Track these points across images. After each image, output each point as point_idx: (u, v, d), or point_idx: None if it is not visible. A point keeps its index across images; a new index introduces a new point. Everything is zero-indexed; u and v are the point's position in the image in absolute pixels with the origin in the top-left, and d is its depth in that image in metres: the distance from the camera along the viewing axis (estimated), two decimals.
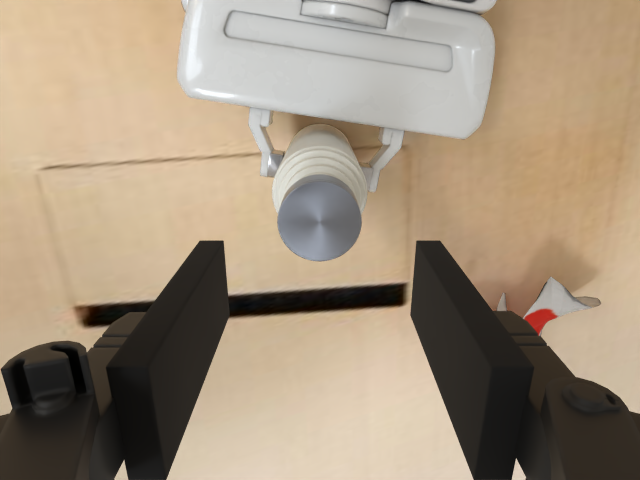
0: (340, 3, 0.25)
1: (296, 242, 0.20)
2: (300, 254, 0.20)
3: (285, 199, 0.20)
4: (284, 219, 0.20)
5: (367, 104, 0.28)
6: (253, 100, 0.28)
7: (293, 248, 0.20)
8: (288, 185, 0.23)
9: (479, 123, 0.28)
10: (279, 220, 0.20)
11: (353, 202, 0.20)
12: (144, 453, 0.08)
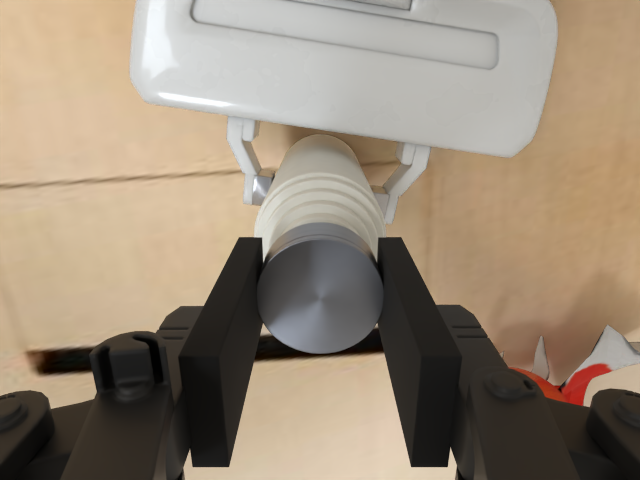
0: None
1: (284, 327, 0.13)
2: (291, 344, 0.14)
3: (267, 265, 0.13)
4: (266, 294, 0.13)
5: (383, 112, 0.21)
6: (231, 107, 0.21)
7: (280, 335, 0.13)
8: (275, 232, 0.16)
9: (531, 137, 0.21)
10: (258, 296, 0.13)
11: (372, 270, 0.13)
12: (209, 441, 0.09)
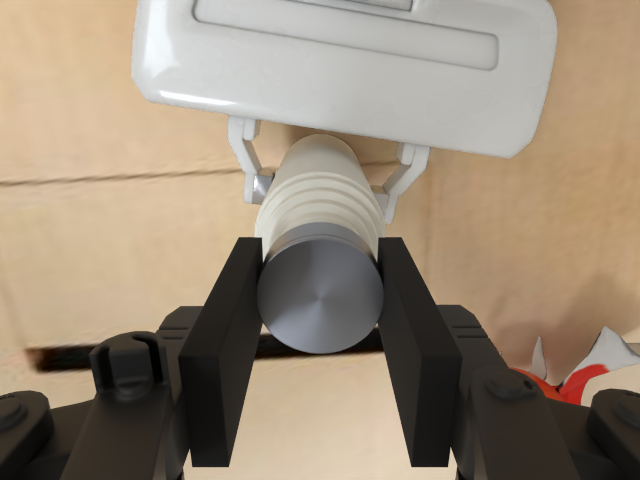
0: None
1: (354, 328, 0.13)
2: (373, 321, 0.13)
3: (289, 344, 0.14)
4: (319, 345, 0.14)
5: (383, 112, 0.21)
6: (232, 106, 0.21)
7: (364, 331, 0.13)
8: (275, 230, 0.16)
9: (530, 138, 0.22)
10: (321, 351, 0.14)
11: (282, 254, 0.12)
12: (209, 440, 0.09)
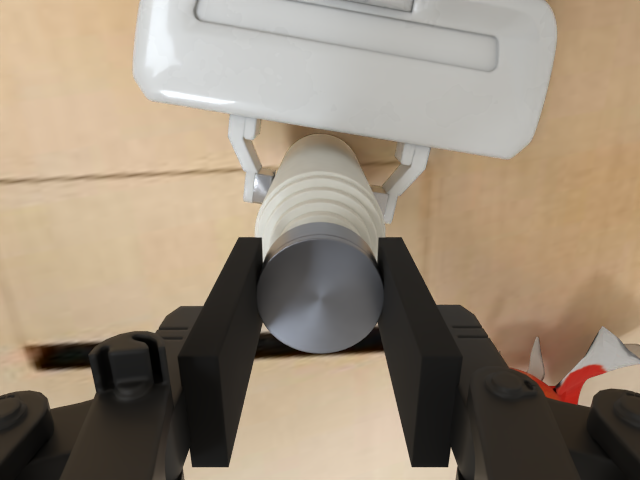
0: None
1: (352, 263, 0.13)
2: (342, 246, 0.12)
3: (375, 322, 0.13)
4: (373, 295, 0.13)
5: (383, 112, 0.21)
6: (233, 105, 0.21)
7: (354, 254, 0.12)
8: (276, 229, 0.16)
9: (529, 139, 0.22)
10: (381, 293, 0.13)
11: (275, 333, 0.13)
12: (209, 441, 0.09)
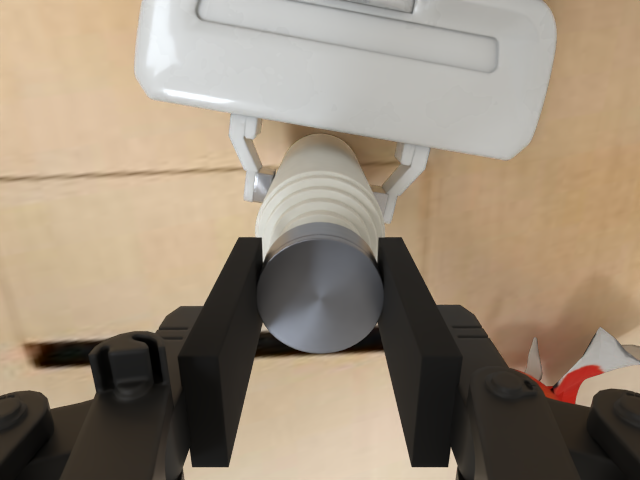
0: None
1: (278, 273, 0.13)
2: (261, 284, 0.13)
3: (344, 244, 0.12)
4: (311, 249, 0.12)
5: (383, 113, 0.21)
6: (235, 104, 0.21)
7: (267, 272, 0.13)
8: (276, 228, 0.16)
9: (529, 140, 0.22)
10: (308, 242, 0.12)
11: (362, 335, 0.13)
12: (209, 441, 0.09)
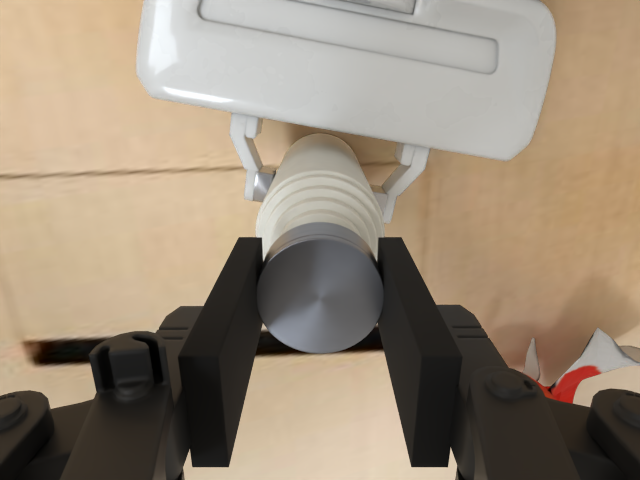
0: None
1: (296, 335, 0.13)
2: (308, 349, 0.14)
3: (259, 282, 0.13)
4: (268, 309, 0.13)
5: (384, 113, 0.22)
6: (236, 104, 0.21)
7: (295, 344, 0.14)
8: (276, 227, 0.16)
9: (528, 141, 0.22)
10: (261, 313, 0.13)
11: (360, 255, 0.13)
12: (209, 440, 0.09)
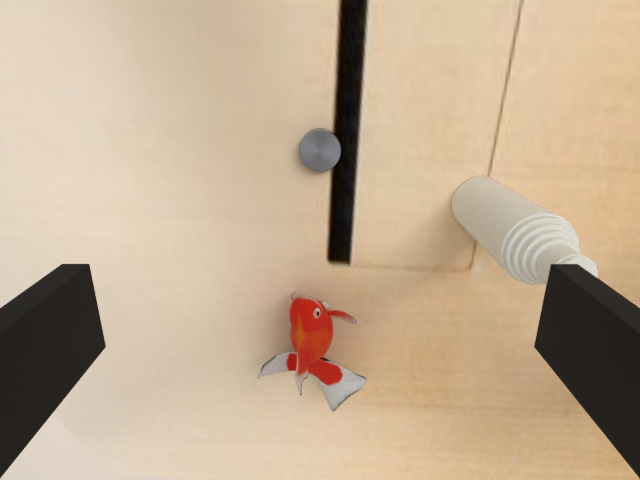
0: None
1: (312, 164, 0.41)
2: (316, 170, 0.41)
3: (300, 145, 0.40)
4: (303, 155, 0.41)
5: None
6: None
7: (311, 168, 0.41)
8: (571, 237, 0.30)
9: None
10: (300, 156, 0.41)
11: (332, 135, 0.40)
12: None
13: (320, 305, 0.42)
